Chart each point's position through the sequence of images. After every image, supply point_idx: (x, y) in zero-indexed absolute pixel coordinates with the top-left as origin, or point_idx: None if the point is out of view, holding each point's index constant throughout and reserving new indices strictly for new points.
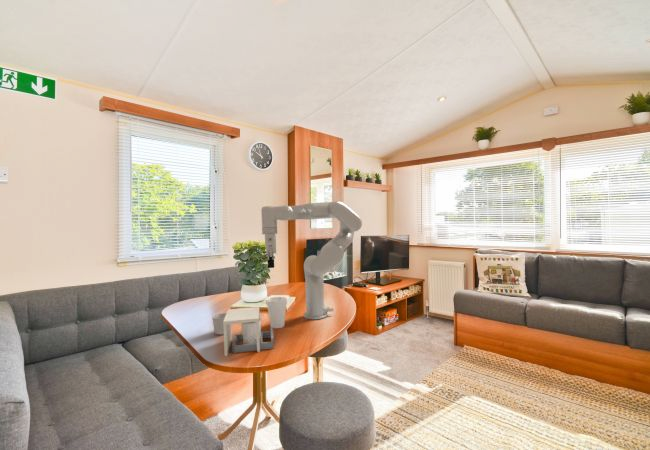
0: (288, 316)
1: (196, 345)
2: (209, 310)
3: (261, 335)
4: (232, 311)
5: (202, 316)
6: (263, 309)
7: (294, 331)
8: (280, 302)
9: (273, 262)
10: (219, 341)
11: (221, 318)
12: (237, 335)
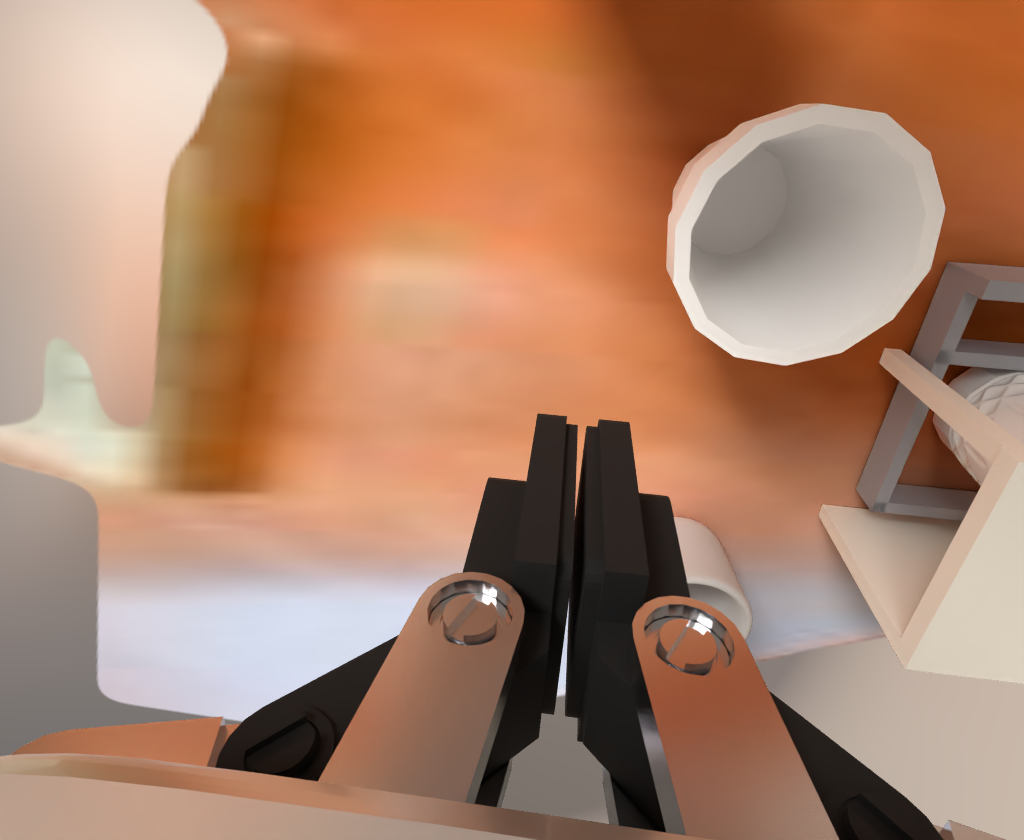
0: (498, 59)
1: (798, 641)
2: (220, 598)
3: (1017, 363)
4: (996, 650)
5: (333, 626)
6: (239, 276)
7: (943, 58)
8: (938, 211)
9: (634, 524)
10: (808, 557)
11: (751, 626)
12: (887, 498)
